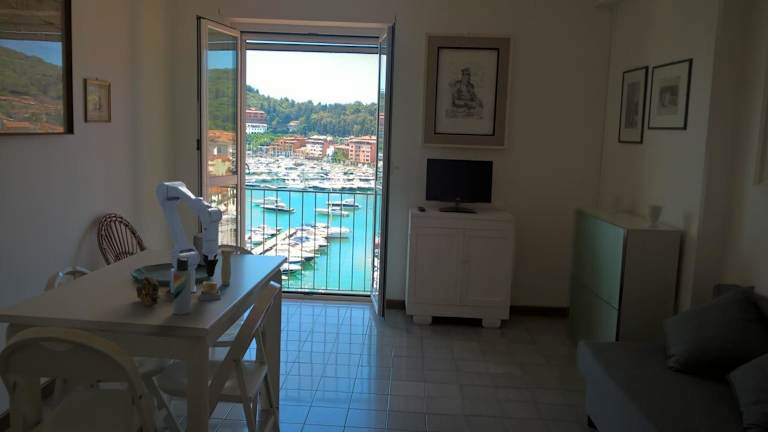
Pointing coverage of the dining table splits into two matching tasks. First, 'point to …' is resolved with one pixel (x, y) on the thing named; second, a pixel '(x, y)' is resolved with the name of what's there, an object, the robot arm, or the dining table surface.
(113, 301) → the dining table surface
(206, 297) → the end cap
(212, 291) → the tan brown block
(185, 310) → the lotion bottle
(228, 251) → the handle
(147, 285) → the wooden carving
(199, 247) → the pillar candle
